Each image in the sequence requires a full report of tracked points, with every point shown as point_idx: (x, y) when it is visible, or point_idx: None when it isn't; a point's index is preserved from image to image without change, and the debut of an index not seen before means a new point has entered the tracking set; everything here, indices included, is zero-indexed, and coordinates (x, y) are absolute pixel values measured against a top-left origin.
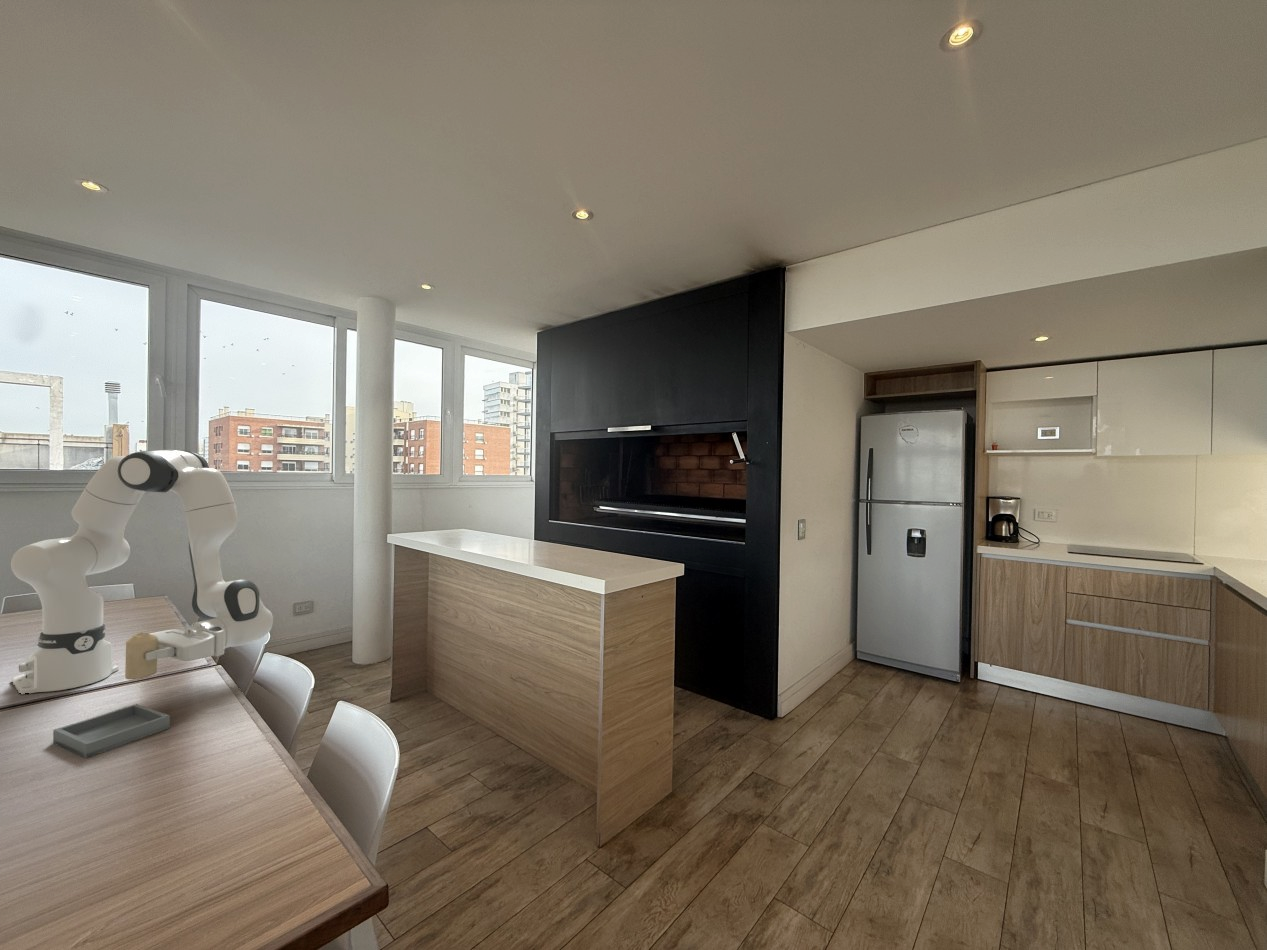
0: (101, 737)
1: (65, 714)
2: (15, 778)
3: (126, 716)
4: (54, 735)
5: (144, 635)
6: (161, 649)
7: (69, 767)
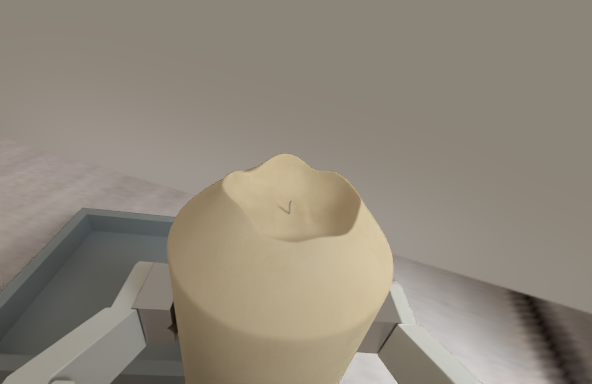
0: (131, 266)
1: None
2: (151, 185)
3: None
4: None
5: (230, 176)
6: (83, 342)
7: None
